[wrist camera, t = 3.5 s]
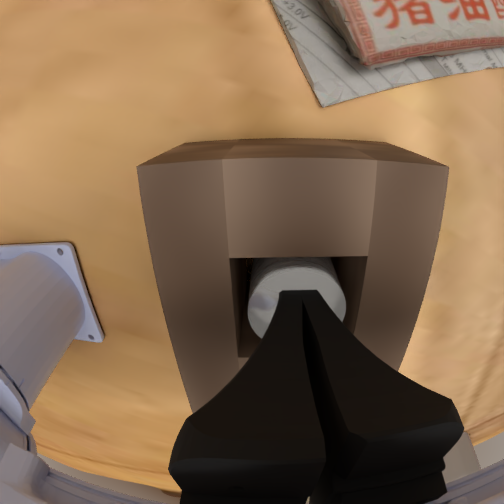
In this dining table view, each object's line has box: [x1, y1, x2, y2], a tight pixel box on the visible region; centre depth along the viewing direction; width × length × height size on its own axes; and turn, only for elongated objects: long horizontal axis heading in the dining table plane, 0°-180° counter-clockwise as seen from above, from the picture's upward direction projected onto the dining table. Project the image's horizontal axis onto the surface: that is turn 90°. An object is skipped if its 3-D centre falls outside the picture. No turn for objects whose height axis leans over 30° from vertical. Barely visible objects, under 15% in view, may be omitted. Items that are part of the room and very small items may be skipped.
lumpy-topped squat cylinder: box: [442, 432, 481, 484], centre depth 25 cm, size 10×13×9 cm
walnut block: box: [137, 138, 449, 413], centre depth 16 cm, size 10×22×6 cm, turn 2°
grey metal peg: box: [248, 257, 346, 338], centre depth 13 cm, size 4×4×6 cm
